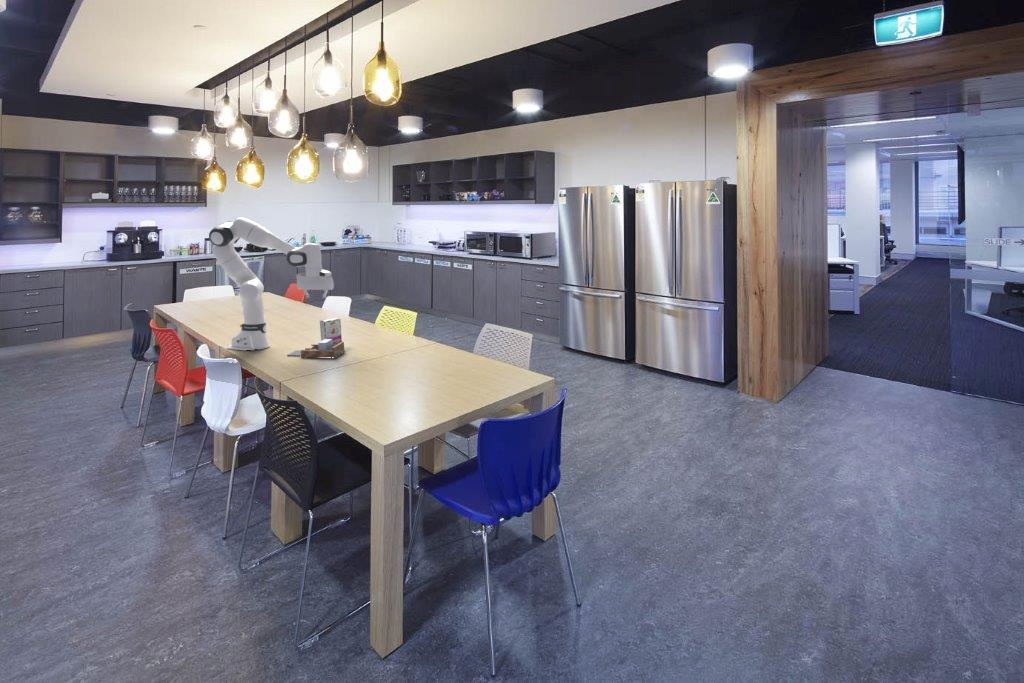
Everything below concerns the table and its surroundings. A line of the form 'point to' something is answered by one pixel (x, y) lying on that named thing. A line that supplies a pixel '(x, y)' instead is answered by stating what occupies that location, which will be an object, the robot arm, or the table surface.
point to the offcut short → (309, 348)
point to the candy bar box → (331, 330)
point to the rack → (321, 353)
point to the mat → (295, 353)
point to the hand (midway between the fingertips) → (316, 297)
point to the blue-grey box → (326, 345)
